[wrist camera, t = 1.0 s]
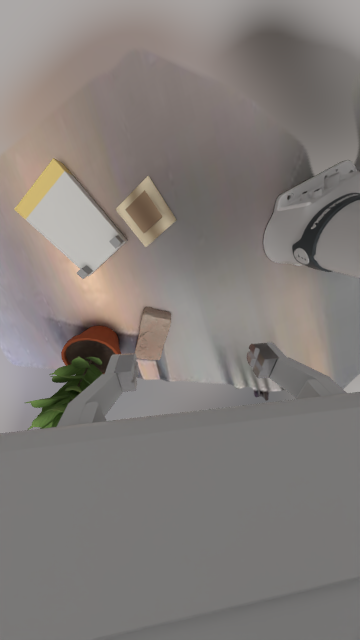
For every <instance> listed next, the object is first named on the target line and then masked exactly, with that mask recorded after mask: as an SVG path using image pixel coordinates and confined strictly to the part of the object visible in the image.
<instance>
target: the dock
mask: <svg viewBox="0 0 360 640" xmlns="http://www.w3.org/2000/svg"><path fill="white" fill-rule="evenodd" d="M14 210H16V211H17V212H18V213H19V214H20V215H21V216H22V217H23V218H24V219H26V220H27V221H28V222H29V223H30V224H31V225H32V226H33V227H34V228H36V229H37V230H38V231H39V232H40V233H41V234H42V235H43V236H44V237H46V238H47V239H48V240H49V241H50V242H51V243H52V244H53V245H54V246H55V247H57V248H58V249H59V250H60V251H61V252H62V253H63V254H64V255H65V256H67V257H68V258H69V259H70V260H71V261H72V262H73V263H74V264H75V265H77V266H78V267H79V268H80V270H79V271H78V272H77V274H78V275H79V276H80V277H81V278H83V279H84V278H85V277H87V276H90V275H91V274H92V273H94V272H95V271H96V270H97V269H98V268H99V267H100V266H101V265H102V264H103V263H104V262H105V261H106V260H108V259H109V258H110V257H111V256H112V255H113V254H114V253H115V252H116V251H117V250H118V249H119V248H120V247H121V246H123V245H124V244H125V243H126V242H127V241H128V240H127V239H126V238H125V237H124V236H123V235H122V233H121V232H120V231H119V230H118V229H117V227H116V226H115V225H114V224H113V223H112V221H111V220H110V219H109V218H108V217H107V216H106V214H105V213H104V212H103V211H102V210H101V208H100V207H99V206H98V205H97V204H96V203H95V201H94V200H93V199H92V198H91V197H90V195H89V194H88V193H87V192H86V191H85V189H84V188H83V187H82V186H81V185H80V184H79V182H78V181H77V180H76V179H75V178H74V176H73V175H72V174H71V173H70V172H69V171H68V169H67V168H66V167H65V166H64V165H63V164H62V163H61V162H59V161H57V160H56V159H54V158H53V159H52V161H51V162H50V163H49V165H48V166H47V167H46V169H45V170H44V171H43V173H42V174H41V175H40V176H39V178H38V179H37V180H36V182H35V183H34V184H33V186H32V187H31V188H30V190H29V191H28V192H27V193H26V195H25V196H24V197H23V199H22V200H21V201H20V203H19V204H18V205H17V207H16V208H15V209H14Z"/></svg>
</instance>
